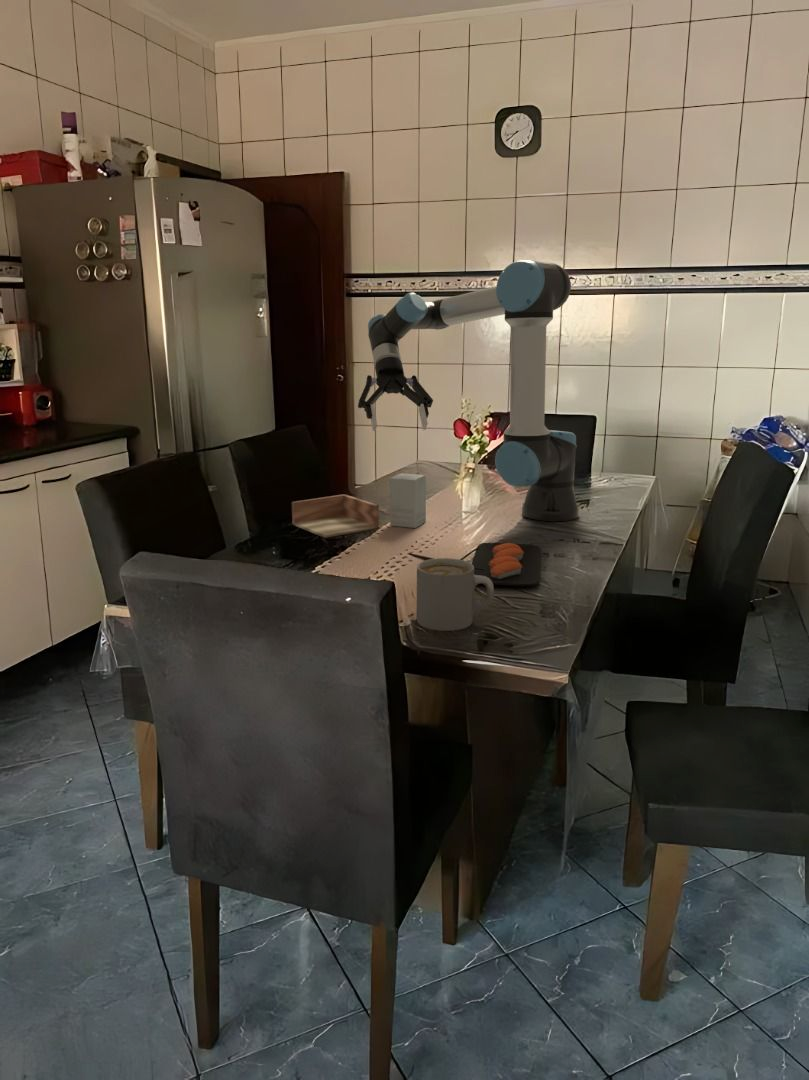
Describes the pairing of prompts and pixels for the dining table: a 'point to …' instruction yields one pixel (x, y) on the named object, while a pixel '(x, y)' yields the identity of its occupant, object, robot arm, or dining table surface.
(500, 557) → the sushi plate
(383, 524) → the dining table surface
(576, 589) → the dining table surface
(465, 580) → the coffee mug
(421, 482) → the supplement box
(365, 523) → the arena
